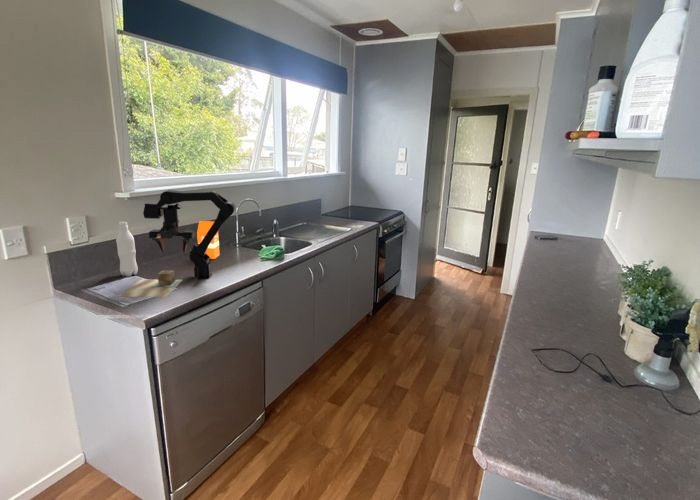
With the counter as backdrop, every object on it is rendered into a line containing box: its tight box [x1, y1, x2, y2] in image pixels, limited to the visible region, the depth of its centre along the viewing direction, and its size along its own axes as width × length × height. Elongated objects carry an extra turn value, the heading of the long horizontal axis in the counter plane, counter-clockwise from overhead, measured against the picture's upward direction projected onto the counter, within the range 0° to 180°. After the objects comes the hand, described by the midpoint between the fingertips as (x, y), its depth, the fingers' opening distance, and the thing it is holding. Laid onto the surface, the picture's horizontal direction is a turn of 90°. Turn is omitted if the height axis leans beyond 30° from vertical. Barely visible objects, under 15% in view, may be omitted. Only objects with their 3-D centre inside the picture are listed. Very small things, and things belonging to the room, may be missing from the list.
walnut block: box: [157, 269, 176, 285], centre depth 161 cm, size 5×5×5 cm
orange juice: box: [196, 220, 220, 260], centre depth 203 cm, size 8×9×20 cm
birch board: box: [118, 278, 183, 298], centre depth 157 cm, size 18×20×1 cm
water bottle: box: [115, 221, 139, 277], centre depth 170 cm, size 7×7×25 cm
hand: (173, 252), depth 169 cm, fingers open, 9 cm apart
